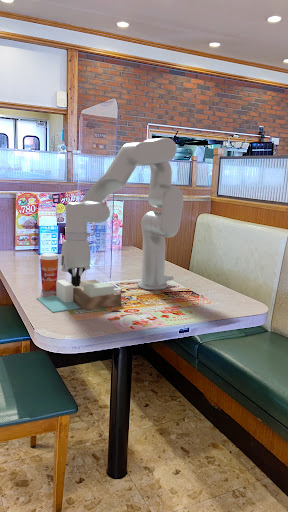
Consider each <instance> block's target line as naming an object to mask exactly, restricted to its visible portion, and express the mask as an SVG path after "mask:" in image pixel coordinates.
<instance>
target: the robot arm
mask: <svg viewBox="0 0 288 512" xmlns="http://www.w3.org/2000/svg"><path fill="white" fill-rule="evenodd" d="M177 151H178V149H177V145H176V141H174V140H173V139H172V138H170V137H159V138H148V139H146V140H144V141H141V142H140V141H139V142H138V141H137V142H127V143H125V144H123V146H121V148H120V149H119V150H118V152H117V153H116V155H115V157H114V158H113V160H112V162H111V163H110V165H109V167H108V169H107V170H106V171H105V173H104V174H103V175H102V176H101V177H100V178H99V179H98V180H97V181H96V182H95V183H94V184H92V185H91V187H90V188H89V189H88V190H87V191H86V193H85V194H84V196H83V198H82V199H81V200H80V201H79V202H78V201H77V202H76V201H71V202H68V203H67V204H66V205H65V239H64V240H63V241H62V246H61V254H60V265H61V271H62V272H65V273H69V274H70V275H71V277H70V278H71V279H70V280H71V281H70V282H71V283H72V285H73V286H75V287H77V286H78V287H79V286H80V283H81V281H82V280H81V276H82V275H83V273H84V272H85V271H87V270H90V269H91V266H90V265H91V248H90V243H89V240H88V238H89V237H90V236H91V233H90V232H88V230H87V229H88V223H94V224H101V223H105V222H107V220H108V219H109V218H110V215H111V212H110V209H109V206H108V205H107V204H105V203H103V201H104V200H105V199H106V198H108V197H109V195H111V194H113V193H115V192H117V191H119V190H121V189H122V188H124V187H125V186H126V184H127V183H128V181H129V179H130V178H131V176H132V174H133V172H134V171H135V170H136V168H137V167H144V166H145V167H146V166H149V169H150V180H149V188H148V197H147V202H148V204H149V205H150V206H151V207H152V208H157V209H161V211H157V210H151V211H148V212H146V213H145V214H144V215H142V219H141V223H140V225H141V232H142V255H141V256H142V260H141V262H142V263H141V280H139V281H138V282H137V286H138V288H141V289H143V290H149V291H150V290H151V291H160V290H164V289H167V288H168V283H167V282H169V281H173V280H175V279H174V276H173V275H165V271H166V270H165V269H166V268H165V266H166V249H167V245H166V238H172V237H174V236H176V235H177V233H178V232H179V230H180V227H181V222H182V214H183V208H184V194H183V192H182V190H181V189H180V187H179V186H176V185H175V184H174V185H173V184H172V177H173V176H172V175H173V170H172V166H171V163H170V162H169V161H171V160H173V159H174V157H175V156H176V155H177Z"/></svg>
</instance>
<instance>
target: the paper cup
mask: <svg viewBox="0 0 288 512" xmlns="http://www.w3.org/2000/svg"><path fill="white" fill-rule="evenodd" d="M38 258H39V264H40V276H41V290H43V291H46V292H48V291H49V292H52V291H56V281H57V280H58V270H59V269H58V268H59V259H60V257H59V254H58V253H54V252H43V253H41V254H40V255H39V257H38Z"/></svg>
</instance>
